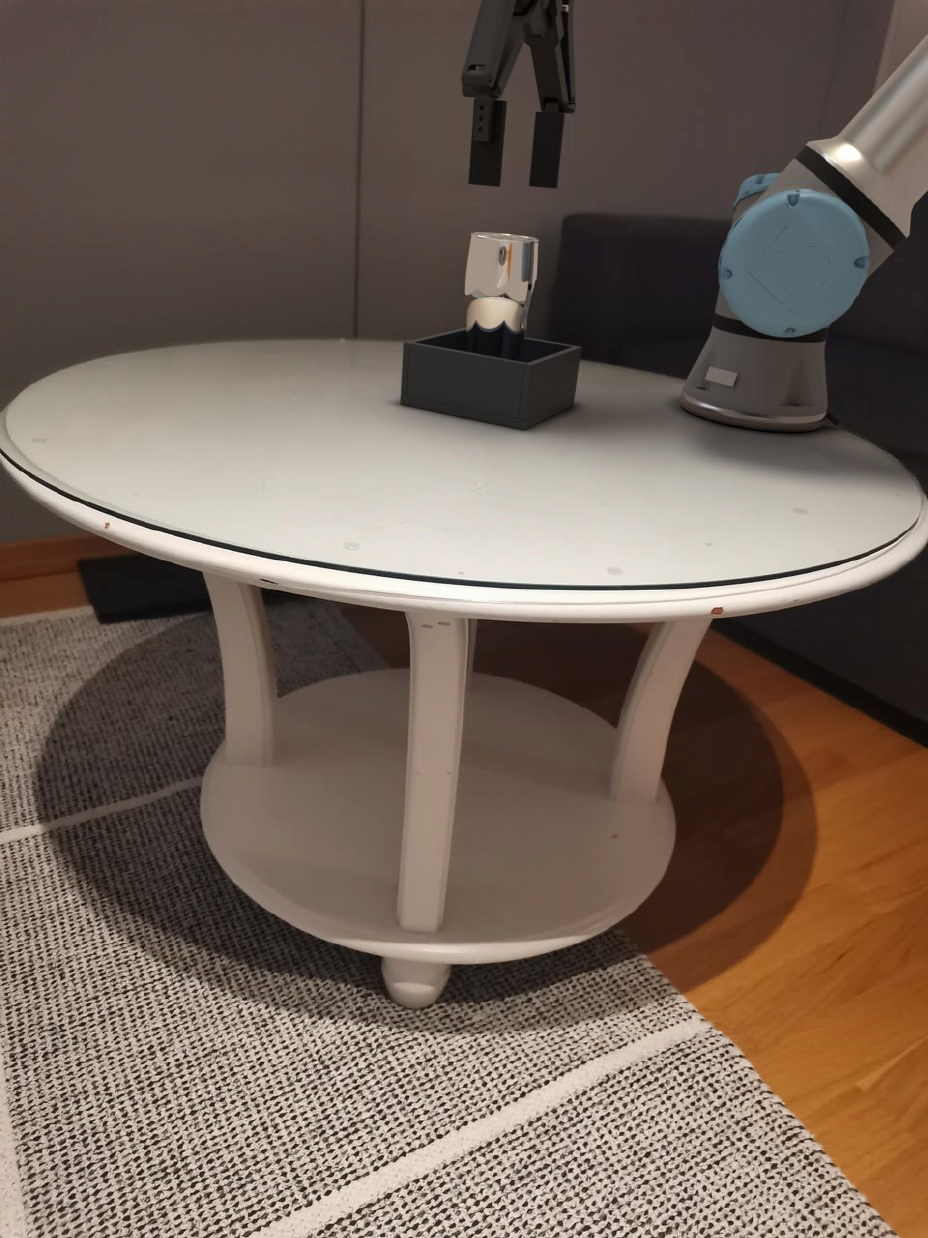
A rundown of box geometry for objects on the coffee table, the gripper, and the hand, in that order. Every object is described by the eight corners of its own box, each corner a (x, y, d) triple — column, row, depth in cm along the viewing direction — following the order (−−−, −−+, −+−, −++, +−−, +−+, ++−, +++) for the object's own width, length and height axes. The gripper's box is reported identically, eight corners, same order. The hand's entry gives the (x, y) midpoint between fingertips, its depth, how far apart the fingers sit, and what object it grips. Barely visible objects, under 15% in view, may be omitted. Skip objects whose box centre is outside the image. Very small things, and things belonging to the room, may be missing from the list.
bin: (574, 404, 99) (582, 346, 96) (523, 430, 88) (531, 365, 85) (460, 382, 104) (465, 326, 101) (399, 404, 93) (403, 341, 90)
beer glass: (522, 389, 99) (539, 236, 92) (525, 405, 92) (543, 242, 86) (456, 383, 99) (468, 229, 92) (454, 399, 92) (467, 235, 86)
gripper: (553, -61, 89) (530, 184, 99) (428, -139, 69) (414, 180, 78) (628, -62, 87) (597, 190, 96) (522, -144, 66) (496, 188, 75)
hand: (515, 186), depth 87 cm, fingers open, 13 cm apart
